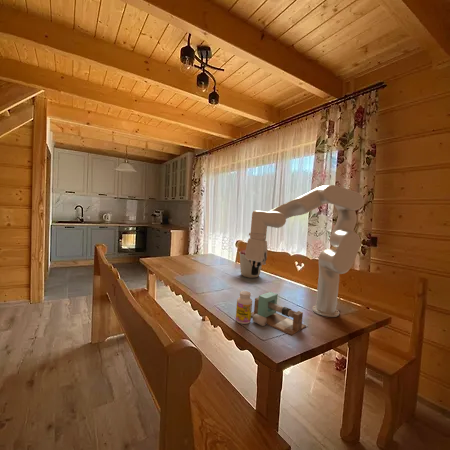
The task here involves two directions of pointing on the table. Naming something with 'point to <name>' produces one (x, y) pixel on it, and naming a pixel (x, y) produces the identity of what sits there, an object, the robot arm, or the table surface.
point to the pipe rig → (282, 318)
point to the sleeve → (259, 319)
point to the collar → (266, 304)
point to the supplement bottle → (244, 308)
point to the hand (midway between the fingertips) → (254, 274)
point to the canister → (246, 266)
